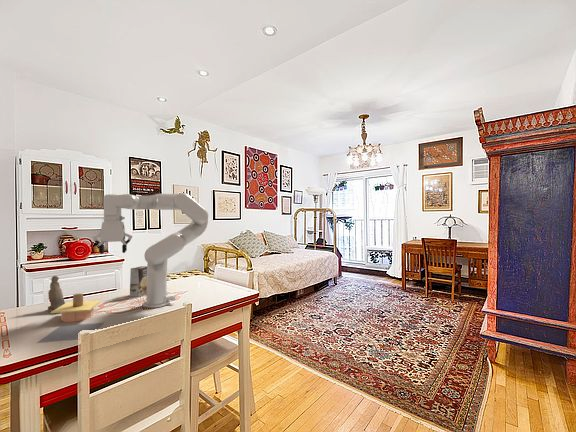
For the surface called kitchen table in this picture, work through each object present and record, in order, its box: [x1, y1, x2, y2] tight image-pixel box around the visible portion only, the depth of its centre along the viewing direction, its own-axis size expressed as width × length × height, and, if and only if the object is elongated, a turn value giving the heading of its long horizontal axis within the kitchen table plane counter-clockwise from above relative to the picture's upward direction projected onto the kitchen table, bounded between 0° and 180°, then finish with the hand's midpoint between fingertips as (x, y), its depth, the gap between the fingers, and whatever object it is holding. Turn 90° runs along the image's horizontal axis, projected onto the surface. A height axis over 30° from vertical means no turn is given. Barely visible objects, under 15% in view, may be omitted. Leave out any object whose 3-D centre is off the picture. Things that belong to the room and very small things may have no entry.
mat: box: [36, 322, 105, 344], centre depth 109 cm, size 16×16×1 cm
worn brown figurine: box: [47, 275, 66, 315], centre depth 135 cm, size 12×6×18 cm, turn 54°
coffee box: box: [129, 265, 147, 298], centre depth 164 cm, size 9×6×16 cm
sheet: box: [50, 293, 103, 314], centre depth 125 cm, size 14×14×6 cm
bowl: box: [60, 308, 94, 323], centre depth 125 cm, size 11×11×5 cm
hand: (113, 253), depth 140 cm, fingers open, 9 cm apart
